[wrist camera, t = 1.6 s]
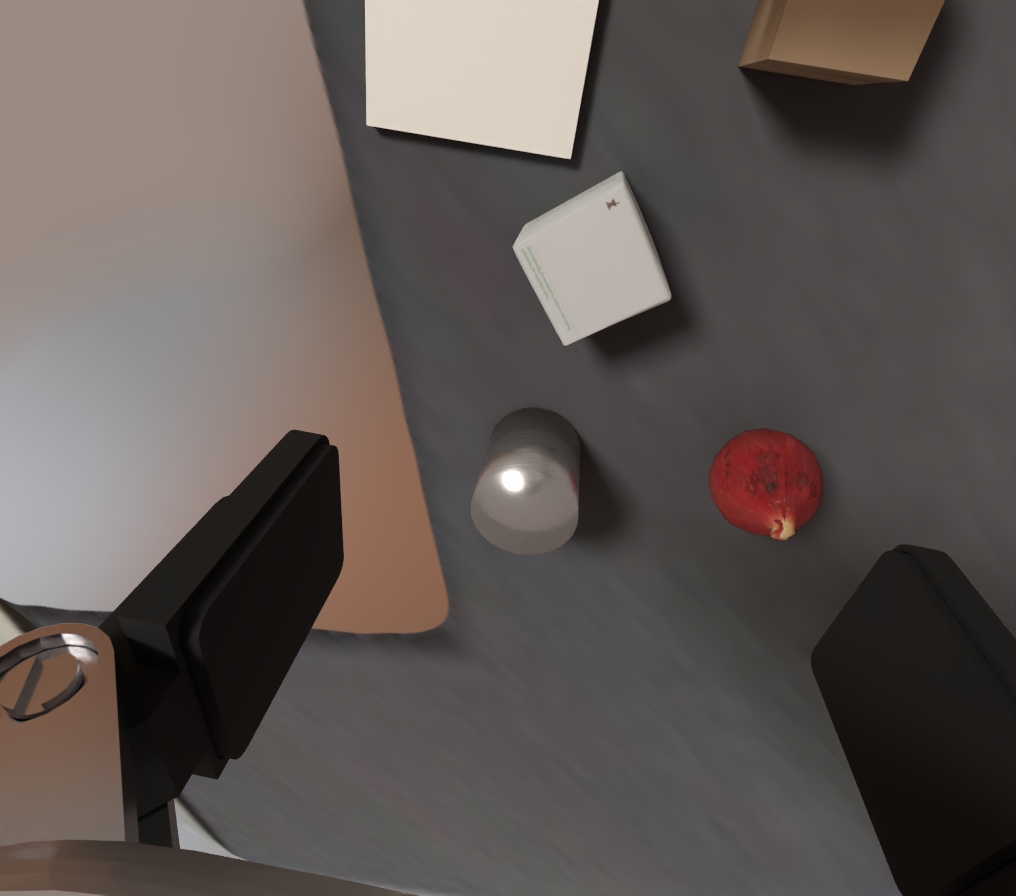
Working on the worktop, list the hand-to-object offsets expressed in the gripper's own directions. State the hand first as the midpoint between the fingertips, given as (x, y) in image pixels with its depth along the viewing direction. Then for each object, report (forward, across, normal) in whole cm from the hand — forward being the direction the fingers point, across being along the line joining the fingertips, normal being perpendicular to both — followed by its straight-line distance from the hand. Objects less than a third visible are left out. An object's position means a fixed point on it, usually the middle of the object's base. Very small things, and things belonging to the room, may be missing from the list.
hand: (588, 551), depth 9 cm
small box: (+23, 0, 0) cm, 23 cm away
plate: (+23, +7, -9) cm, 25 cm away
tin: (+23, +1, +13) cm, 26 cm away
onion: (+23, -12, +10) cm, 28 cm away
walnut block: (+23, -7, -11) cm, 26 cm away
